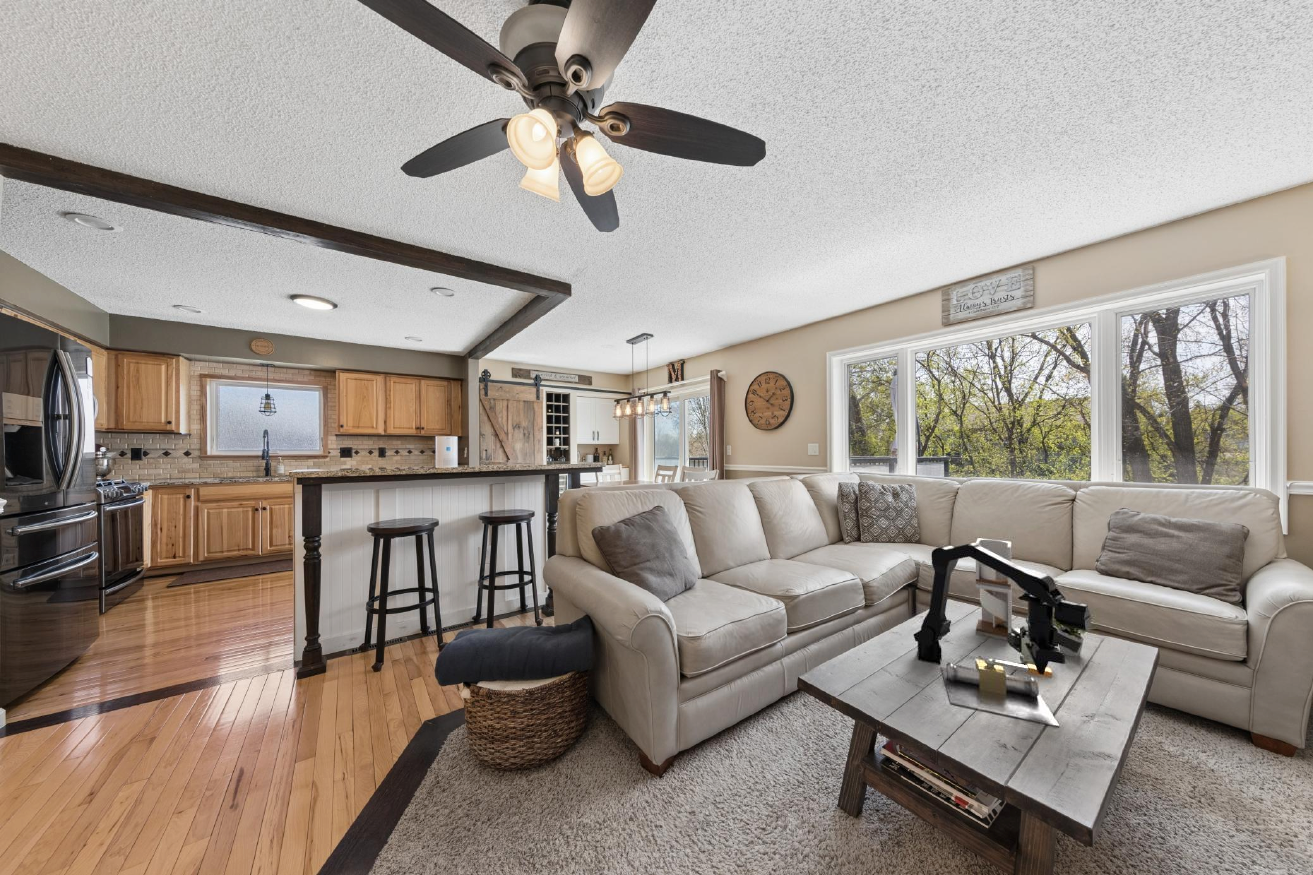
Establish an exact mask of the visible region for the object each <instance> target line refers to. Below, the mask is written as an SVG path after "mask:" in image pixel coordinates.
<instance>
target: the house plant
mask: <svg viewBox="0 0 1313 875" xmlns="http://www.w3.org/2000/svg"><path fill="white" fill-rule="evenodd" d="M1090 616H1091V618H1092V617H1095V615H1092V614H1090ZM1099 617H1100V618H1101V616H1099ZM1091 622H1094V620H1092V619H1091ZM1054 626H1055V627H1056V628H1057V629H1060V628H1061V627H1065V628H1067V629H1069V630H1070V631H1071V635H1072V636H1075V637H1076V638H1078V639H1079V640H1080V641H1081V642H1082V644H1081V646H1080V648H1079V650H1078V652H1077V653H1075V652H1073V651H1071V650H1070V649H1068V648H1065V647H1063V646H1061V645H1059V644H1058V649H1059V650H1060V651H1061V652H1062V654H1063V655H1067V656H1070V657H1078V658H1079V657H1080V656H1081V654H1082V648H1083V644H1084V639H1085V638H1084V637H1083V636H1082V635H1085V633H1086V631H1083V630H1080V629H1076V628H1072V627H1068V626H1064V625H1060V624H1059V622H1056V619H1055V618H1054ZM1094 629H1096V630H1097V629H1098V628H1097V627H1094ZM1090 630H1091V631H1092V632H1093V631H1094V630H1093V627H1090Z"/></svg>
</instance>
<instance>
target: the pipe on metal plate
mask: <svg viewBox="0 0 1313 875" xmlns="http://www.w3.org/2000/svg"><path fill="white" fill-rule="evenodd" d="M974 661H975V662H974V663H975V664H974V666H975V668H973V667H969V666H962V665H958V664H954V663H953V662H947V663H946V667H942V666H941V667H940V670H941V673H942V677H943V682H944V685H945V687H946V692H947V695H948V700H949V703H950V705H954V706H958V707H963V708H967V709H973V710H976V711H981V712H986V713H990V714H995V715H1000V716H1005V717H1009V718H1014V719H1018V720H1023V721H1028V722H1032V723H1037V724H1042V725H1046V726H1050V727H1055V728H1060V725H1059V723H1058V721H1057V720H1056V718H1055V717H1054V715H1053V713H1052V712H1051V710H1050V709H1049V707H1048V705H1047V704H1046V702H1045V700H1044V699H1043V698H1042V696H1041V694H1040V689H1039V683H1038V681H1037V680H1036V679H1035V677H1031V676H1027V677H1024V676H1018V675H1017V676H1016V675H1013V674H1008V673H1006V670H1005V669H1004V667H1003V666H998V665H989V664H986V663H985V662H984V660H981V659H976V658H975V660H974Z"/></svg>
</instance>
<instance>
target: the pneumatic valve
mask: <svg viewBox="0 0 1313 875" xmlns="http://www.w3.org/2000/svg"><path fill="white" fill-rule="evenodd" d="M1006 641H1007V643H1008V645H1009V646H1010V647H1011V648H1013V649H1014V650H1015V651H1016V652H1017V653H1020V655H1019V660H1020V662H1021V663H1022V664H1025V665H1026V666H1027V664H1031V665H1035V664H1034V662H1033V660H1032V658H1031V656H1030V654H1029V651H1028V649H1027V647H1026V645H1025V643H1028V639H1027V636H1025V637H1024V638H1022V637H1021V636H1020V628H1013V627H1012V628H1011V633H1008V634H1007V640H1006ZM1050 646H1052V645H1050ZM1053 647H1056V646H1053Z"/></svg>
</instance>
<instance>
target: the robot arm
mask: <svg viewBox="0 0 1313 875" xmlns="http://www.w3.org/2000/svg"><path fill="white" fill-rule="evenodd" d="M964 558H972V559H973V560H975V561H976V560H977V561H979V562H981V563H983V564H984V565H986V566H988V567H990V568H992V569H994V570H996V571H998V572H999V573H1001V574H1003V575H1005V576H1007V577H1009V578H1010V579H1012V581H1013V582H1014V583H1015V584H1016V585H1017V586H1018V587H1019V588H1021V589H1022V590H1023V591H1025V592H1024V593H1023V594H1022V595H1020V596H1018V600H1020V601H1023V602H1027V617H1025V623H1026V624H1027V626H1022V627H1020V628H1019V629H1020V636H1021V637H1022V638H1024V637H1025V636H1027V639H1028V643H1025V645H1026V647H1027V649H1028V651H1029V654H1030V656H1031V658H1032V660H1033V662H1034V664H1035V667H1036V669H1037V671H1038V673H1039V674H1042V675H1043V674H1044V672H1045V670H1046V668H1048V664H1049V662H1051V663H1055V664H1061V665H1065V664H1066V656H1065V654H1064V653H1062V652H1061V651H1060V648H1059V645H1061V646H1063V647H1065V648H1068V649H1070V650H1071V651H1073V652H1075V653H1077V652H1078V650H1079V648H1080V646H1081V644H1082V642H1081V641H1080V640H1079V639H1078V638H1076V637H1075V636H1072V635H1071V631H1070V630H1069V629H1067V628H1065V627H1063V626H1062V625H1064V626H1068V627H1072V628H1076V629H1080V630H1079V631H1085V632H1089V631H1090V630H1091V629H1090V628H1092V621H1091V620H1092V617H1091V616H1090V615H1091V612H1090V609H1089V605H1087V604H1084V603H1078V602H1072V601H1067V598H1066V597H1065V596H1064V595H1063V593H1062V592H1061V591H1060V590H1059V588H1058V587H1057V584H1056V581H1055V580H1054V578H1053V577H1052V576H1050V575H1048V574H1046V573H1043V572H1040V571H1038V570H1034V569H1031V568H1027V567H1023V566H1020V565H1017V564H1016V563H1014V562H1012V561H1011V562H1010V561H1008V560H1006V559H1004V558H1002V557H1000V556H998V555H996V554H994V553H993V552H991V551H989V550H987V549H985V548H983V547H981V546H979V545H978V544H976V542H970V543H966V544H962V545H958V546H952V545H943V546H939V547H936V548H935V549H932V551H931V565H932V568H933V570H934V574H933V579H932V580H933V581H932V588H931V596H930V603H929V608H928V612H927V614H926V615H925V617H924V619H923V621H922V624H921V626H920V630H918V631H917V632H915V633H914V634H913V638H914V640H915V642H917V651H916V655H917V660H918V661H922V662H928V663H932V664H936V665H937V664H938V665H940V664H941V661H942V656H943V655H942V652H943V651H942V646H941V645H940V642H939V641H941V640H942V639H943V637H945V636H947V635H948V633H950V632H951V627H950V626H951V625H952V620H950V619H947V616H946V609H947V604H948V603H947V602H948V598H949V597H948V595H949V589H950V582H951V578H952V577H951V576H952V573H953V571H954V570H955V568H956V566H957V564H958V562H959V560H960V559H961V560H962V559H964ZM1054 619H1055V620H1056V622H1058V623H1059V624H1060V625H1061V626H1062V627H1061V628H1060V627H1059V628H1060V629H1058V628H1057V627H1055V626H1054V624H1055V622H1054ZM1076 629H1075V630H1076ZM1050 645H1052V646H1050ZM1082 645H1083V644H1082ZM1053 646H1055V647H1053Z"/></svg>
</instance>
